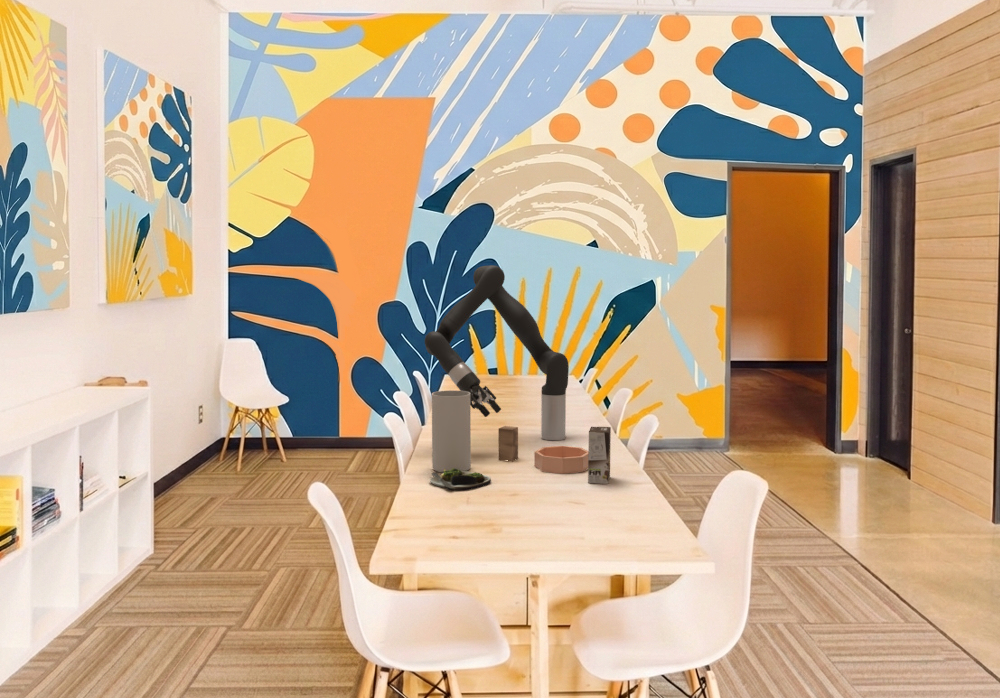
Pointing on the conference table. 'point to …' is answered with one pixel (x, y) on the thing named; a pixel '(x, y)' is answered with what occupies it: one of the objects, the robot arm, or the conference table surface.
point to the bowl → (561, 459)
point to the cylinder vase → (451, 430)
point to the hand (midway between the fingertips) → (493, 413)
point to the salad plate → (459, 480)
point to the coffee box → (599, 455)
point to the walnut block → (508, 443)
